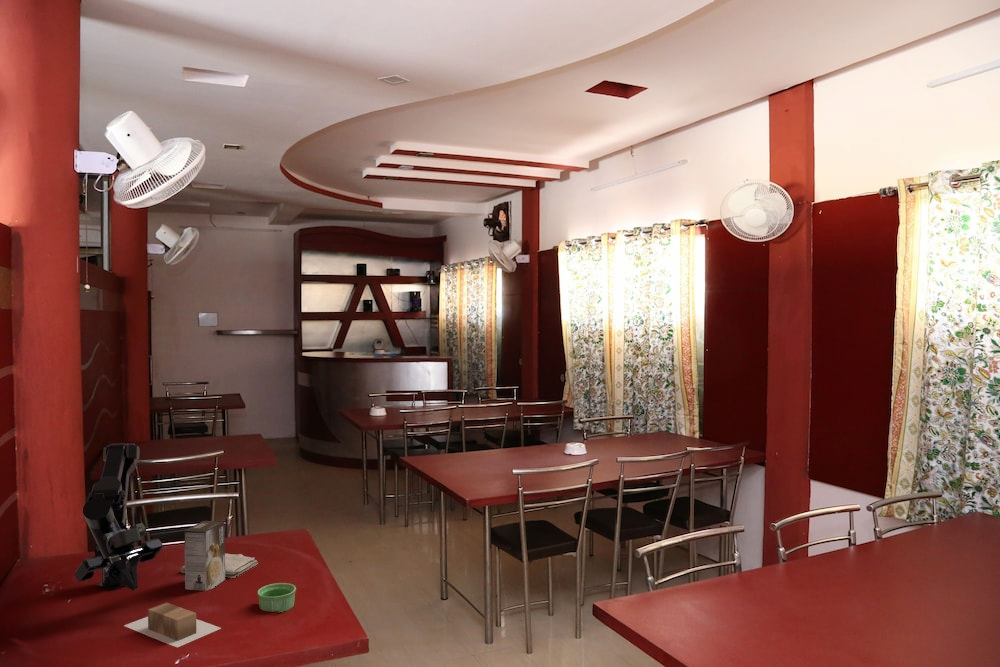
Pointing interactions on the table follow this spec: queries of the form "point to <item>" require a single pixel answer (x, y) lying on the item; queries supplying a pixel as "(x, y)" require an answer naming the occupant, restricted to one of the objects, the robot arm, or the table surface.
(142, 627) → the mat
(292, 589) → the ramekin
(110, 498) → the robot arm
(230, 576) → the washcloth
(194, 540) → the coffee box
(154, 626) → the walnut block
